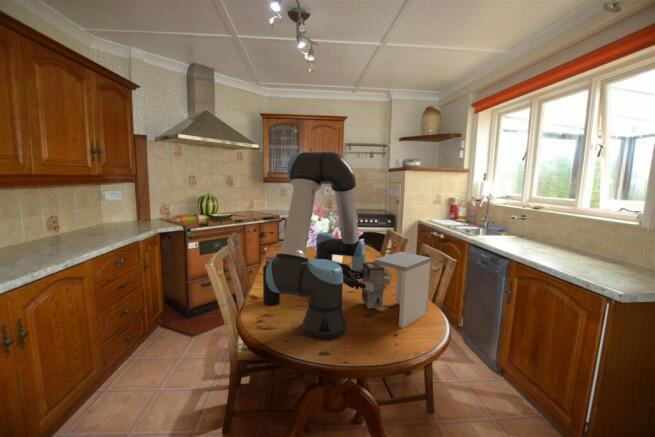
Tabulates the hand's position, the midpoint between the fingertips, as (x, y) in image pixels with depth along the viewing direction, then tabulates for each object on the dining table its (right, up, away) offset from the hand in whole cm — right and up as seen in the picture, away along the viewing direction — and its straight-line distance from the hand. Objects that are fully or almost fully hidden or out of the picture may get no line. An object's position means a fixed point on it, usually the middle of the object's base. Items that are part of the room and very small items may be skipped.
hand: (381, 284), depth 118 cm
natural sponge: (+5, -7, +29) cm, 31 cm away
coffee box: (-3, -9, +4) cm, 10 cm away
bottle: (-44, -9, +7) cm, 45 cm away
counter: (+7, -11, -2) cm, 13 cm away
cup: (-4, -4, +46) cm, 46 cm away
